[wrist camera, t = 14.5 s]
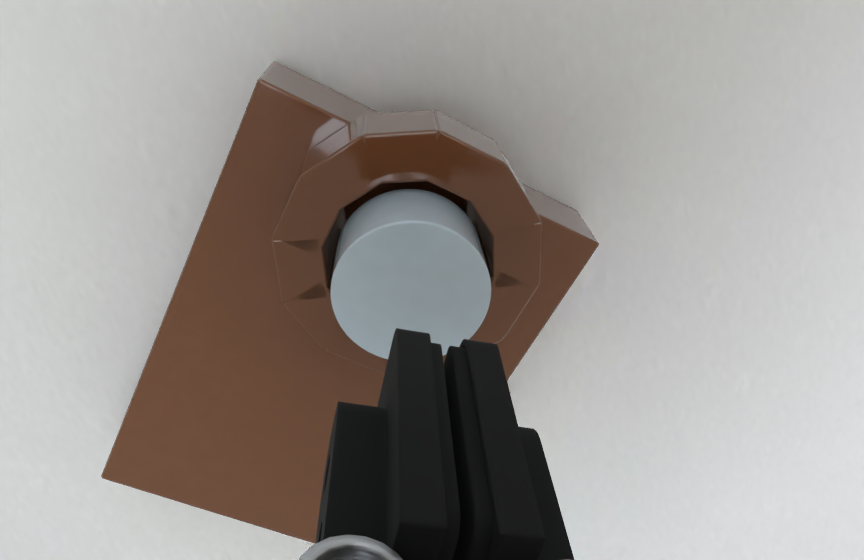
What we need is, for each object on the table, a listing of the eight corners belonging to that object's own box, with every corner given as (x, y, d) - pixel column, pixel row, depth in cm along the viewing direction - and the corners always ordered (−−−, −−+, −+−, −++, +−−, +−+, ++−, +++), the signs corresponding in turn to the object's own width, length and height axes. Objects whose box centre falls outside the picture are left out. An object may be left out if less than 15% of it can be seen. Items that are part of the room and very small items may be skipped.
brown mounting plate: (291, 16, 18) (263, 42, 14) (600, 176, 21) (651, 235, 17) (126, 427, 24) (74, 527, 20) (383, 512, 27) (382, 615, 23)
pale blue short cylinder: (374, 163, 16) (372, 193, 14) (507, 226, 17) (521, 262, 15) (313, 286, 17) (304, 328, 15) (439, 337, 18) (444, 383, 16)
